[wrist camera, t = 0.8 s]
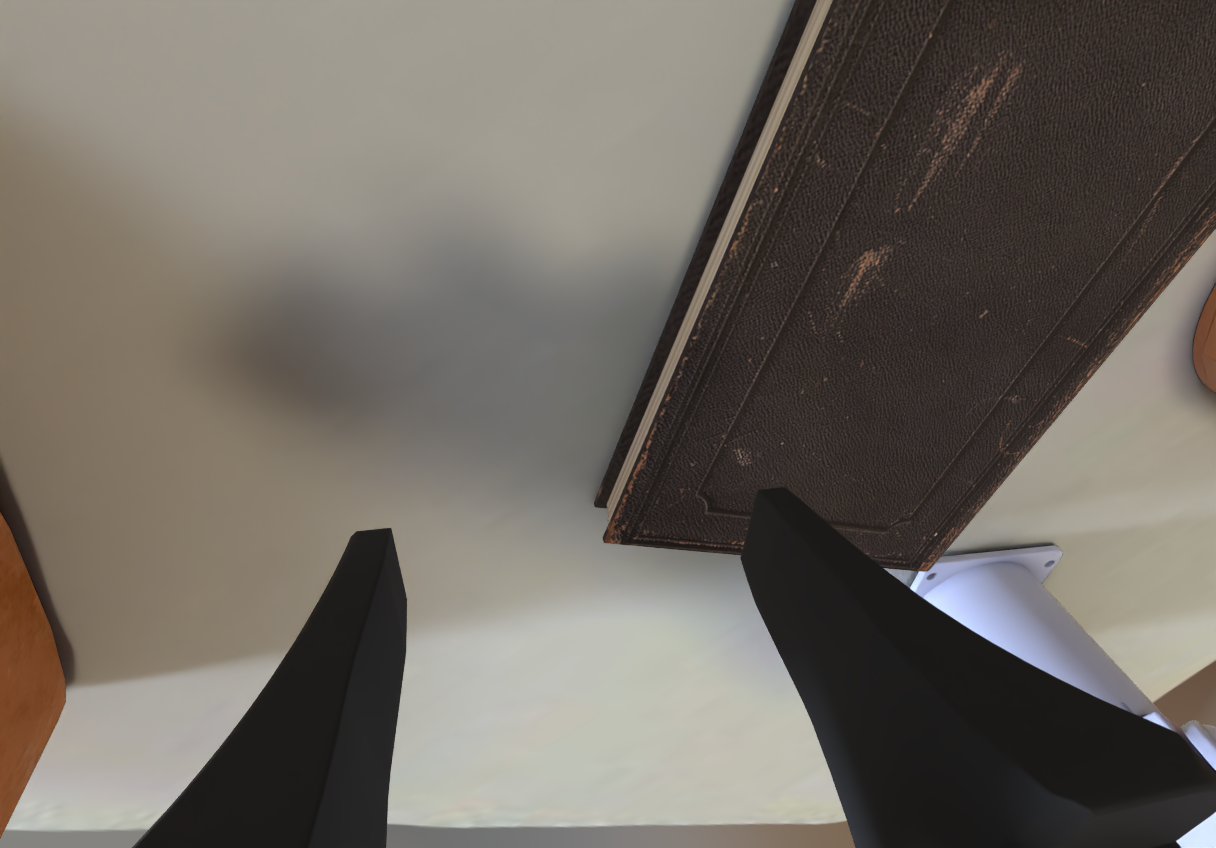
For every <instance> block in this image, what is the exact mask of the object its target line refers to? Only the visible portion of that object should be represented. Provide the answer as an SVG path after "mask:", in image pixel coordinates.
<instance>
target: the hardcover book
mask: <svg viewBox="0 0 1216 848" xmlns="http://www.w3.org/2000/svg"><path fill="white" fill-rule="evenodd" d="M1215 229H1216V0H796V2H795V4H794V7H793V9H792V12H791V14H790V17H789V19H788V22H787V24H786V27H785V29H784V32H783V34H782V37H781V39H780V42H779V44H778V47H777V49H776V51H775V54H774V56H773V59H772V61H771V64H770V66H769V69H768V71H767V74H766V76H765V79H764V81H763V84H762V86H761V89H760V91H759V94H758V96H757V99H756V101H755V104H754V106H753V109H752V111H751V114H750V116H749V119H748V121H747V124H746V126H745V129H744V131H743V134H742V136H741V139H740V141H739V143H738V146H737V148H736V151H735V153H734V156H733V158H732V161H731V163H730V166H729V168H728V171H727V173H726V176H725V178H724V181H723V183H722V186H721V188H720V191H719V193H718V196H717V198H716V201H715V203H714V206H713V208H712V211H711V213H710V216H709V218H708V221H707V223H706V226H705V228H704V231H703V233H702V236H701V238H700V240H699V243H698V245H697V248H696V250H695V253H694V255H693V258H692V260H691V263H690V265H689V268H688V270H687V273H686V275H685V278H684V280H683V283H682V285H681V288H680V290H679V293H678V295H677V298H676V300H675V303H674V305H673V308H672V310H671V313H670V315H669V318H668V320H667V323H666V325H665V328H664V330H663V332H662V335H661V337H660V340H659V342H658V345H657V347H656V350H655V352H654V355H653V357H652V360H651V362H650V365H649V367H648V370H647V372H646V375H645V377H644V380H643V382H642V385H641V387H640V390H639V392H638V395H637V397H636V400H635V402H634V405H633V407H632V410H631V412H630V415H629V417H628V420H627V422H626V425H625V427H624V429H623V432H622V434H621V437H620V439H619V442H618V444H617V447H616V449H615V452H614V454H613V457H612V459H611V462H610V464H609V467H608V469H607V472H606V474H605V477H604V479H603V482H602V484H601V487H600V489H599V492H598V494H597V497H596V499H595V502H594V505H595V507H598V508H607V510H608V511H609V516H608V521H610V522H609V524H608V526H607V529H606V531H605V533H604V536H603V541H604V543H611V544H622V545H633V546H644V547H655V548H666V549H678V550H689V551H700V552H711V553H722V554H733V555H741V553H742V549H743V545H744V541H745V537H746V533H747V529H748V526H749V522H750V518H751V514H752V510H753V506H754V502H755V498H756V494H757V490H759V489H769V488H779V487H786V488H787V489H788V490H790V491H791V492H792V493H793V494H795V495H796V496H797V497H798V498H799V499H800V500H802V501H803V502H804V503H805V504H806V505H807V506H809V507H810V508H811V509H812V510H813V511H814V512H816V513H817V514H818V515H819V516H820V517H821V518H823V519H824V520H825V521H826V522H827V523H828V524H830V525H831V526H832V527H833V528H834V529H835V530H837V531H838V532H839V533H840V534H841V535H843V536H844V537H845V538H846V539H847V540H849V541H850V542H851V543H852V544H853V545H855V546H856V547H857V548H858V549H859V550H861V551H862V552H863V553H864V554H866V555H867V556H868V557H869V558H871V559H872V560H873V561H874V562H876V563H877V564H878V565H879V566H881V567H882V568H889V569H900V570H911V571H922V572H928V571H929V570H930V569H931V568H932V567H933V565H934V564H935V563H936V562H937V561H938V559H939V558H940V557H941V556H942V555H943V554H944V552H945V551H946V550H947V549H948V548H949V546H950V545H951V544H952V543H953V542H954V540H955V539H956V538H957V537H958V536H959V534H960V533H961V532H962V531H963V530H964V528H965V527H966V526H967V525H968V524H969V522H970V521H971V520H972V519H973V518H974V516H975V515H976V514H977V513H978V512H979V510H980V509H981V508H982V507H983V506H984V505H985V503H986V502H987V501H988V500H989V499H990V497H991V496H992V495H993V494H994V493H995V491H996V490H997V489H998V488H999V487H1000V485H1001V484H1002V483H1003V482H1004V481H1005V479H1006V478H1007V477H1008V476H1009V475H1010V473H1011V472H1012V471H1013V470H1014V469H1015V467H1016V466H1017V465H1018V464H1019V463H1020V462H1021V460H1022V459H1023V458H1024V457H1025V456H1026V454H1027V453H1028V452H1029V451H1030V450H1031V448H1032V447H1033V446H1034V445H1035V444H1036V442H1037V441H1038V440H1039V439H1040V438H1041V436H1042V435H1043V434H1044V433H1045V432H1046V430H1047V429H1048V428H1049V427H1050V426H1051V424H1052V423H1053V422H1054V421H1055V420H1056V419H1057V417H1058V416H1059V415H1060V414H1061V413H1062V411H1063V410H1064V409H1065V408H1066V407H1067V405H1068V404H1069V403H1070V402H1071V401H1072V399H1073V398H1074V397H1075V396H1076V395H1077V393H1078V392H1079V391H1080V390H1081V389H1082V387H1083V386H1084V385H1085V384H1086V383H1087V381H1088V380H1089V379H1090V378H1091V377H1092V375H1093V374H1094V373H1095V372H1096V371H1097V370H1098V368H1099V367H1100V366H1101V365H1102V364H1103V362H1104V361H1105V360H1106V359H1107V358H1108V356H1109V355H1110V354H1111V353H1112V352H1113V350H1114V349H1115V348H1116V347H1117V346H1118V344H1119V343H1120V342H1121V341H1122V340H1123V338H1124V337H1125V336H1126V335H1127V334H1128V332H1129V331H1130V330H1131V329H1132V328H1133V327H1134V325H1135V324H1136V323H1137V322H1138V321H1139V319H1140V318H1141V317H1142V316H1143V315H1144V313H1145V312H1146V311H1147V310H1148V309H1149V307H1150V306H1151V305H1152V304H1153V303H1154V301H1155V300H1156V299H1157V298H1158V297H1159V295H1160V294H1161V293H1162V292H1163V291H1164V289H1165V288H1166V287H1167V286H1168V285H1169V283H1170V282H1171V281H1172V280H1173V279H1174V278H1175V276H1176V275H1177V274H1178V273H1179V272H1180V270H1181V269H1182V268H1183V267H1184V266H1185V264H1186V263H1187V262H1188V261H1189V260H1190V258H1191V257H1192V256H1193V255H1194V254H1195V252H1196V251H1197V250H1198V249H1199V248H1200V246H1201V245H1202V244H1203V243H1204V242H1205V240H1206V239H1207V238H1208V237H1209V236H1210V235H1211V233H1212V232H1213V231H1214V230H1215Z"/></svg>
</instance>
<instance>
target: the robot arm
mask: <svg viewBox="0 0 1216 848" xmlns="http://www.w3.org/2000/svg"><path fill="white" fill-rule="evenodd" d="M1062 555H1063V551H1062V550H1061V549H1060V548H1059V547H1058V546H1054V545H1053V546H1043V547H1033V548H1023V549H1013V550H1003V551H993V552H983V553H973V554H963V555H953V556H943V557H940V558H939V559H938V561H937V562H936V563H935V564H934V565H933V567H932V568H931V569H930V570H929V571H928V572H922V571H919V572H918V574H917V576H916V578H915V580H914V582H913V584H912V585H911V587H910V588H909V587H907V586H906V585H904V584H903V583H902V582H900V581H899V580H898V579H896V578H895V577H894V576H892V575H891V574H890V573H888V572H887V571H886V570H885V569H883V568H882V567H881V566H879V565H878V564H877V563H876V562H874V561H873V560H872V559H871V558H869V557H868V556H867V555H866V554H864V553H863V552H862V551H861V550H859V549H858V548H857V547H856V546H855V545H853V544H852V543H851V542H850V541H849V540H847V539H846V538H845V537H844V536H843V535H841V534H840V533H839V532H838V531H837V530H835V529H834V528H833V527H832V526H831V525H830V524H828V523H827V522H826V521H825V520H824V519H823V518H821V517H820V516H819V515H818V514H817V513H816V512H814V511H813V510H812V509H811V508H810V507H809V506H807V505H806V504H805V503H804V502H803V501H802V500H800V499H799V498H798V497H797V496H796V495H795V494H793V493H792V492H791V491H790V490H788V489H787V488H786V487H779V488H769V489H759V490H757V494H756V498H755V502H754V506H753V510H752V514H751V518H750V522H749V526H748V529H747V533H746V537H745V541H744V545H743V549H742V553H741V557H740V558H741V561H742V565H743V568H744V571H745V574H746V577H747V580H748V583H749V586H750V589H751V592H752V595H753V598H754V601H755V603H756V605H757V608H758V610H759V612H760V614H761V616H762V618H763V620H764V623H765V625H766V627H767V629H768V631H769V633H770V635H771V637H772V639H773V641H774V643H775V645H776V647H777V649H778V652H779V654H780V656H781V658H782V660H783V662H784V664H785V666H786V668H787V670H788V672H789V674H790V676H791V678H792V680H793V682H794V684H795V686H796V688H797V691H798V693H799V695H800V697H801V699H802V701H803V703H804V705H805V708H806V710H807V712H808V714H809V717H810V719H811V721H812V724H813V726H814V729H815V732H816V734H817V737H818V740H819V743H820V745H821V748H822V751H823V753H824V756H825V759H826V761H827V764H828V767H829V769H830V772H831V775H832V778H833V781H834V784H835V787H836V790H837V793H838V796H839V798H840V801H841V804H842V807H843V810H844V813H845V816H846V819H847V822H848V825H849V828H850V831H851V834H852V837H853V841H854V844H855V847H856V848H1216V727H1214V726H1210V725H1203V724H1201V723H1200V722H1198V721H1195V720H1193V721H1190V722H1188V723H1186V724H1184V725H1182V726H1181V727H1179V726H1178V725H1176V724H1175V723H1174V722H1172V721H1170V720H1169V719H1168V718H1166V717H1165V716H1164V715H1163V714H1162V713H1161V712H1160V711H1159V710H1158V708H1157V707H1156V706H1155V705H1154V704H1153V703H1152V702H1151V701H1150V700H1149V699H1148V698H1147V697H1146V696H1145V694H1144V693H1143V692H1142V691H1141V690H1140V689H1139V688H1138V687H1137V686H1136V685H1135V684H1134V683H1133V682H1132V680H1131V679H1130V678H1129V677H1128V676H1127V675H1126V674H1125V673H1124V672H1123V671H1122V670H1121V669H1120V668H1119V666H1118V665H1117V664H1116V663H1115V662H1114V661H1113V660H1112V659H1111V658H1110V657H1109V656H1108V655H1107V654H1106V653H1105V651H1104V650H1103V649H1102V648H1101V647H1100V646H1099V645H1098V644H1097V643H1096V642H1095V641H1094V640H1093V639H1092V637H1091V636H1090V635H1089V634H1088V633H1087V632H1086V631H1085V630H1084V629H1083V628H1082V627H1081V626H1080V625H1079V623H1078V622H1077V621H1076V620H1075V619H1074V618H1073V617H1072V616H1071V615H1070V614H1069V613H1068V612H1067V611H1066V609H1065V608H1064V607H1063V606H1062V605H1061V604H1060V603H1059V602H1058V601H1057V600H1056V599H1055V598H1054V597H1053V595H1052V594H1051V593H1050V592H1049V591H1048V590H1047V589H1046V588H1045V587H1044V586H1043V585H1042V583H1043V582H1044V580H1045V579H1046V578H1047V576H1048V575H1049V573H1050V572H1051V571H1052V569H1053V568H1054V566H1055V565H1056V564H1057V562H1058V561H1059V559H1060V558H1061V557H1062ZM406 631H407V598H406V593H405V589H404V584H403V579H402V575H401V570H400V566H399V561H398V557H397V552H396V548H395V543H394V539H393V534H392V529H391V528H384V529H375V530H365V531H356V532H355V533H354V534H353V535H352V536H351V538H350V540H349V542H348V545H347V547H346V549H345V551H344V553H343V555H342V557H341V560H340V562H339V564H338V566H337V568H336V570H335V572H334V574H333V575H332V577H331V579H330V581H329V583H328V585H327V587H326V589H325V590H324V592H323V594H322V596H321V598H320V600H319V601H318V603H317V605H316V606H315V608H314V610H313V612H312V613H311V615H310V617H309V618H308V620H307V622H306V624H305V625H304V627H303V629H302V630H301V632H300V634H299V635H298V637H297V639H296V640H295V642H294V643H293V645H292V647H291V648H290V650H289V651H288V653H287V654H286V656H285V657H284V659H283V660H282V662H281V663H280V665H279V666H278V668H277V669H276V671H275V672H274V674H273V676H272V677H271V679H270V680H269V682H268V683H267V685H266V686H265V687H264V689H263V690H262V692H261V693H260V694H259V696H258V697H257V699H256V700H255V702H254V703H253V704H252V706H251V707H250V708H249V710H248V711H247V713H246V714H245V715H244V717H243V718H242V719H241V720H240V722H239V723H238V724H237V726H236V727H235V728H234V730H233V731H232V732H231V734H230V735H229V736H228V738H227V739H226V740H225V741H224V743H223V744H222V745H221V746H220V748H219V749H218V750H217V751H216V753H215V754H214V755H213V756H212V757H211V759H210V760H209V761H208V762H207V763H206V765H205V766H204V767H203V768H202V770H201V771H200V772H199V773H198V774H197V776H196V777H195V778H194V779H193V781H192V782H191V783H190V784H189V785H188V786H187V788H186V789H185V790H184V791H183V792H182V793H181V795H180V796H179V797H178V798H177V799H176V800H175V802H174V803H173V804H172V805H171V806H170V807H169V808H168V809H167V811H166V812H165V813H164V814H163V815H162V816H161V817H160V818H159V819H158V820H157V821H156V822H155V824H154V825H153V826H152V827H151V828H150V829H149V830H148V831H147V832H146V833H145V834H144V835H143V836H142V838H141V839H140V840H139V841H138V842H137V843H136V844H135V845H134V846H133V847H132V848H386V836H387V811H388V793H389V782H390V771H391V764H392V756H393V749H394V741H395V733H396V726H397V718H398V711H399V703H400V695H401V688H402V680H403V672H404V664H405V656H406Z"/></svg>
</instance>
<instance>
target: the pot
mask: <svg viewBox="0 0 1216 848" xmlns="http://www.w3.org/2000/svg"><path fill="white" fill-rule="evenodd" d="M1193 359H1194V366H1195V369H1196V372H1197V374H1198V376H1199V378H1200V379H1201V380H1202V382H1203V383H1204V384H1205V385H1206V386H1207V387H1208V388H1210V389H1211V390H1212V391H1214V392H1216V285H1215V287H1214V289H1213V291H1212V293H1211V294H1210V296H1209V298H1208V300H1207V302H1206V304H1205V307H1204V309H1203V312H1202V314H1201V317H1200V319H1199V322H1198V326H1197V330H1196V333H1195V337H1194V346H1193Z"/></svg>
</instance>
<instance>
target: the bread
mask: <svg viewBox="0 0 1216 848" xmlns="http://www.w3.org/2000/svg"><path fill="white" fill-rule="evenodd" d="M65 702H66V682H65V678H64V674H63V670H62V667H61V663H60V659H59V655H58V652H57V648H56V644H55V640H54V637H53V633H52V629H51V627H50V624H49V622H48V619H47V617H46V615H45V612H44V610H43V607H42V605H41V603H40V600H39V598H38V595H37V593H36V590H35V588H34V586H33V583H32V581H31V578H30V576H29V574H28V571H27V569H26V566H25V564H24V561H23V559H22V557H21V554H20V552H19V549H18V547H17V545H16V542H15V540H14V537H13V535H12V533H11V530H10V528H9V526H8V525H7V523H6V521H5V519H4V518H3V516H2V514H1V513H0V838H1V836H2V834H3V832H4V830H5V828H6V826H7V824H8V822H9V820H10V818H11V816H12V814H13V812H14V810H15V807H16V805H17V803H18V801H19V799H20V797H21V795H22V793H23V791H24V789H25V787H26V785H27V783H28V781H29V779H30V777H31V775H32V773H33V771H34V769H35V767H36V765H37V763H38V761H39V759H40V757H41V755H42V752H43V750H44V748H45V746H46V744H47V742H48V740H49V738H50V736H51V734H52V732H53V730H54V728H55V726H56V724H57V722H58V720H59V717H60V715H61V712H62V710H63V707H64V705H65Z"/></svg>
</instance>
